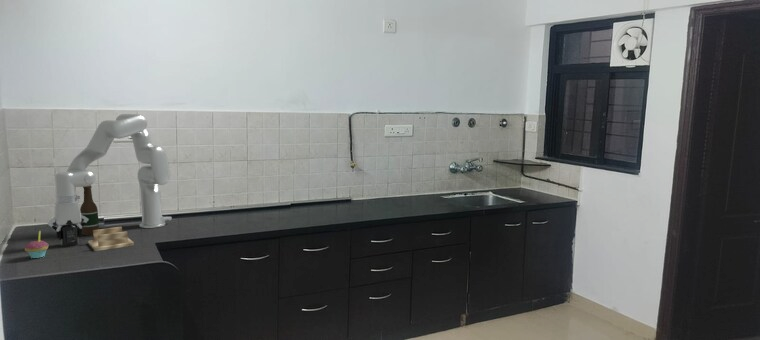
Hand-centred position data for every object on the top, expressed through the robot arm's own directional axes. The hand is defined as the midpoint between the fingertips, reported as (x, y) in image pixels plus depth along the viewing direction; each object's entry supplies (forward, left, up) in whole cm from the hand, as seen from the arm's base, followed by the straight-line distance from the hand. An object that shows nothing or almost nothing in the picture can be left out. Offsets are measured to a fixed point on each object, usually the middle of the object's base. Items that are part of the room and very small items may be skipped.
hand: (69, 237), depth 250 cm
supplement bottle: (0, 0, -4) cm, 4 cm away
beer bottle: (-11, -17, -3) cm, 21 cm away
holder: (-15, +10, -3) cm, 18 cm away
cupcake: (+14, +14, -4) cm, 20 cm away
